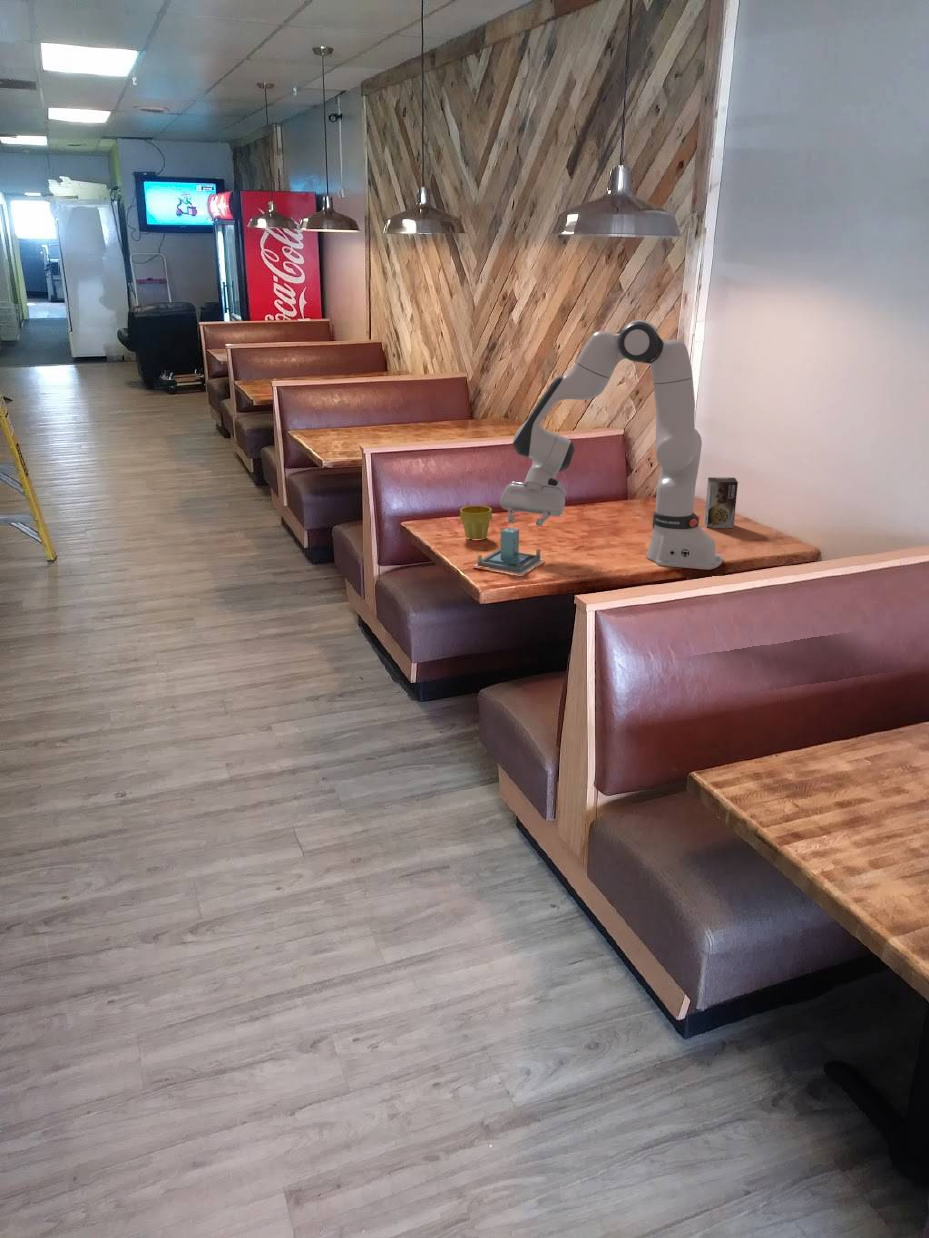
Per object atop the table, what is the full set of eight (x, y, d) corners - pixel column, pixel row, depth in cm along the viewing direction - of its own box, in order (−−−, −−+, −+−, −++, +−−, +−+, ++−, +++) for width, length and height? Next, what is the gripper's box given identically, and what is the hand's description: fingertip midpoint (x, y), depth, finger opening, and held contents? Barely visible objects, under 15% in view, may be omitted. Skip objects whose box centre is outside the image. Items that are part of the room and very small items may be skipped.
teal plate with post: (529, 560, 272) (530, 528, 268) (516, 569, 265) (517, 536, 261) (502, 556, 276) (503, 524, 272) (489, 564, 269) (489, 532, 265)
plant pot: (453, 537, 297) (453, 508, 294) (477, 532, 304) (477, 503, 300) (474, 544, 290) (474, 515, 286) (498, 538, 296) (498, 509, 293)
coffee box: (730, 523, 312) (735, 477, 306) (733, 528, 306) (738, 481, 300) (703, 522, 313) (707, 476, 307) (706, 528, 307) (710, 481, 301)
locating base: (544, 561, 274) (545, 549, 272) (521, 577, 260) (522, 563, 259) (497, 554, 281) (497, 541, 279) (472, 568, 268) (472, 555, 266)
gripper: (505, 475, 281) (490, 513, 277) (566, 482, 272) (552, 522, 267) (511, 486, 286) (496, 524, 282) (571, 494, 277) (557, 532, 273)
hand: (524, 523), depth 275 cm, fingers open, 8 cm apart
